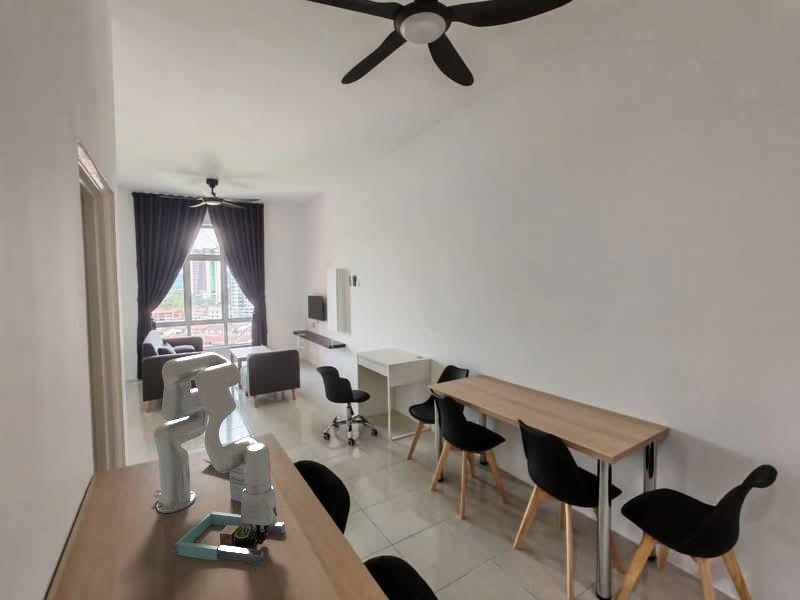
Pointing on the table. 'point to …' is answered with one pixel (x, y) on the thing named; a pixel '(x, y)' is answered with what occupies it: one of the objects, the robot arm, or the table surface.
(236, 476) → the supplement box
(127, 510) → the table surface
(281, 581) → the table surface
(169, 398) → the robot arm
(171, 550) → the table surface
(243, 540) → the tape measure
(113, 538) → the table surface
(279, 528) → the slot rails
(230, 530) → the tan cardboard cube
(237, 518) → the u shaped frame
